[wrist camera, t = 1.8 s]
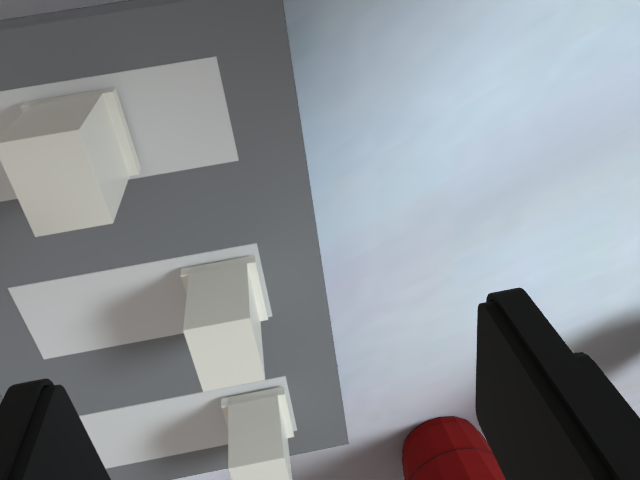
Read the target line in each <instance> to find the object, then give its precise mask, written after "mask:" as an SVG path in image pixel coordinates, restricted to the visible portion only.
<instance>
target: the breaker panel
mask: <svg viewBox="0 0 640 480" xmlns="http://www.w3.org/2000/svg"><path fill="white" fill-rule="evenodd" d="M108 88H116V91H117V94H118V98H119V101H120V104H121V107H122V110H123V113H124V117H125V120H126V123H127V126H128V129H129V132H130V136H131V139H132V142H133V145H134V148H135V151H136V154H137V158H138V161H139V164H140V167H141V170H140V174H139V175H133V176H130V177H129V180H128V183H127V185H126V188H125V191H124V194H123V197H122V200H121V202H120V205H119V208H118V211H117V214H116V217H115V219H114V222H113V224H107V225H101V226H96V227H90V228H84V229H79V230H73V231H67V232H62V233H56V234H50V235H45V236H39V237H35V236H34V233H33V231H32V229H31V227H30V225H29V222H28V220H27V218H26V216H25V214H24V211H23V209H22V207H21V205H20V202H19V200H18V198H17V196H16V194H15V191H14V189H13V187H12V185H11V183H10V180H9V178H8V176H7V174H6V172H5V169H4V167H3V165H2V163H1V161H0V395H1V397H2V399H3V398H4V396H5V393H6V391H7V390H8V388H9V387H10V386H12V385H14V384H19V383H24V382H29V381H34V380H40V379H49V380H51V381H52V382H53V384H54V385H62V386H63V387H64V388H65V390H66V392H67V394H68V396H69V398H70V400H71V402H72V403H73V405H74V407H75V409H76V411H77V413H78V415H79V417H80V419H81V421H82V423H83V425H84V427H85V429H86V431H87V433H88V435H89V437H90V439H91V441H92V443H93V445H94V447H95V449H96V451H97V453H98V455H99V457H100V459H101V461H102V463H103V465H104V467H105V469H106V471H107V473H108V475H109V477H110V479H111V480H172V479H177V478H182V477H187V476H192V475H197V474H202V473H207V472H212V471H217V470H222V469H227V468H228V427H227V424H226V421H225V418H224V414H223V411H222V408H221V399H222V398H227V397H232V396H237V395H242V394H248V393H253V392H258V391H263V390H268V389H273V388H278V387H284V390H285V394H286V399H287V403H288V408H289V412H290V417H291V421H292V426H293V431H294V437H291V438H288V446H289V455H290V456H291V455H296V454H301V453H306V452H311V451H316V450H321V449H326V448H331V447H336V446H341V445H346V444H349V442H348V436H347V429H346V422H345V416H344V409H343V402H342V396H341V389H340V382H339V375H338V369H337V362H336V355H335V349H334V342H333V335H332V329H331V322H330V315H329V308H328V302H327V295H326V288H325V282H324V275H323V268H322V262H321V255H320V248H319V241H318V235H317V228H316V221H315V215H314V208H313V201H312V195H311V188H310V181H309V174H308V168H307V161H306V154H305V148H304V141H303V134H302V128H301V121H300V114H299V107H298V101H297V94H296V87H295V81H294V74H293V67H292V61H291V54H290V47H289V40H288V34H287V27H286V20H285V14H284V7H283V0H129V1H123V2H116V3H110V4H103V5H97V6H90V7H84V8H77V9H71V10H65V11H58V12H52V13H45V14H39V15H32V16H26V17H20V18H13V19H7V20H0V136H1V135H2V134H3V133H4V132H5V131H6V130H7V129H8V128H9V127H10V126H11V125H12V124H13V123H14V122H15V121H16V120H17V119H18V118H19V117H20V116H21V114H22V113H23V112H22V110H21V108H20V106H21V105H22V104H23V103H24V102H29V101H35V100H41V99H47V98H53V97H60V96H66V95H72V94H78V93H84V92H90V91H96V90H102V89H108ZM254 255H255V259H256V263H257V268H258V272H259V277H260V281H261V286H262V290H263V295H264V299H265V304H266V308H267V313H268V320H265V321H260V322H261V334H262V347H263V359H264V372H265V380H263V381H257V382H252V383H247V384H242V385H237V386H232V387H226V388H221V389H216V390H211V391H206V392H203V390H202V387H201V384H200V381H199V378H198V375H197V372H196V369H195V366H194V362H193V359H192V356H191V353H190V350H189V347H188V344H187V341H186V338H185V335H184V332H183V326H184V316H185V307H186V297H187V295H186V292H185V289H184V285H183V282H182V279H181V276H180V275H181V269H182V268H188V267H193V266H199V265H204V264H210V263H215V262H221V261H226V260H232V259H237V258H243V257H248V256H254Z"/></svg>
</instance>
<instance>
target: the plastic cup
mask: <svg viewBox="0 0 640 480" xmlns="http://www.w3.org/2000/svg"><path fill="white" fill-rule="evenodd" d="M402 452H403V457H402V463H403V471H404V478H405V480H506V479H505V477H504V475H503V473H502V471H501V469H500V467H499V465H498V463H497V460H496V458H495V456H494V454H493V452H492V450H491V448H490V446H489V444H488V443H487V441H486V440H485V438H484V437H483V436H482V434H481V433H480V432H479V431H478V430H477V429H476V428H475V427H474V426H473V425H472V424H471V423H470V422H468V421H467V420H465V419H462V418H458V417H454V416H453V417H439V418H436V419H433V420H430V421H427V422H424V423H423V424H421V425H420V426H418V427H417V428H415V429H414V430H412V432H411V433H410V434H409V436H408V437H407V438H406V439H405V441H404V446H403V450H402Z"/></svg>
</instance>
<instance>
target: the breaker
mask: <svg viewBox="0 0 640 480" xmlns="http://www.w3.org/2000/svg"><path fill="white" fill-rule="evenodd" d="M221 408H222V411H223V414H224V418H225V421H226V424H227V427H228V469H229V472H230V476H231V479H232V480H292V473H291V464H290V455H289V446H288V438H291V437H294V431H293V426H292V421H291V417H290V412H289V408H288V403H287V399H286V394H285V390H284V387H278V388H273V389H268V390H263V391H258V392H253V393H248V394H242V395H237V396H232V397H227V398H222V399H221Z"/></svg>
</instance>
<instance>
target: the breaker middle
mask: <svg viewBox="0 0 640 480" xmlns="http://www.w3.org/2000/svg"><path fill="white" fill-rule="evenodd" d="M180 276H181V279H182V282H183V285H184V289H185V292H186V295H187V297H186V307H185V316H184V326H183V332H184V335H185V338H186V341H187V344H188V347H189V350H190V353H191V356H192V359H193V362H194V366H195V369H196V372H197V375H198V378H199V381H200V384H201V387H202V390H203V392H206V391H211V390H216V389H221V388H226V387H232V386H237V385H242V384H247V383H252V382H257V381H263V380H265V372H264V359H263V347H262V334H261V322H260V321H265V320H268V313H267V308H266V304H265V299H264V295H263V290H262V286H261V281H260V277H259V272H258V268H257V263H256V259H255V255H254V256H248V257H243V258H237V259H232V260H226V261H221V262H215V263H210V264H204V265H199V266H193V267H188V268H182V269H181V275H180Z"/></svg>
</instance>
